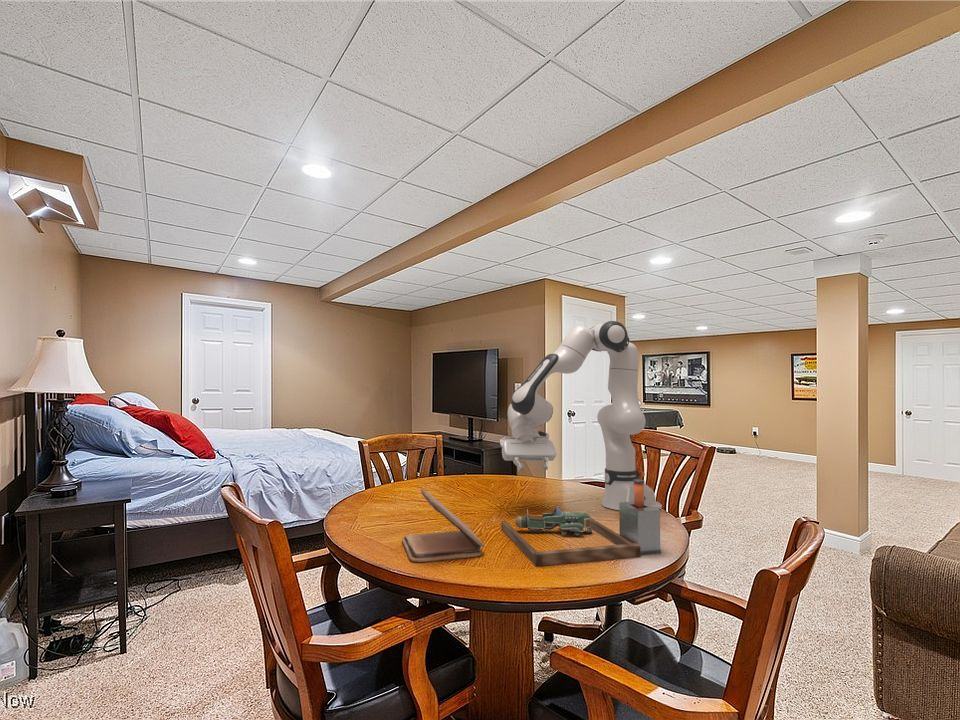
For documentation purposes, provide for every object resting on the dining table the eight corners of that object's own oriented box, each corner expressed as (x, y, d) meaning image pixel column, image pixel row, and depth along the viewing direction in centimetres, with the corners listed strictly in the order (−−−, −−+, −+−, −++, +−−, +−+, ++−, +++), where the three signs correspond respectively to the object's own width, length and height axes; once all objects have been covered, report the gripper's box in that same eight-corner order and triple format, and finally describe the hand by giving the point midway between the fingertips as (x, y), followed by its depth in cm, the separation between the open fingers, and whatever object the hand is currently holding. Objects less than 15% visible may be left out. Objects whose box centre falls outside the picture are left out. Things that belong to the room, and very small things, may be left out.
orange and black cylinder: (640, 504, 143) (640, 479, 143) (647, 507, 139) (646, 481, 140) (631, 505, 142) (630, 479, 142) (637, 508, 139) (637, 481, 139)
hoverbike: (595, 538, 149) (595, 511, 149) (514, 537, 149) (514, 510, 150) (588, 528, 158) (588, 503, 159) (512, 527, 159) (512, 502, 159)
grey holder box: (640, 541, 146) (640, 500, 146) (660, 552, 136) (660, 509, 137) (619, 542, 144) (618, 502, 145) (638, 554, 134) (637, 511, 135)
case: (486, 557, 132) (487, 498, 133) (410, 565, 126) (411, 503, 127) (467, 535, 152) (468, 483, 153) (400, 540, 146) (401, 487, 147)
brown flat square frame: (586, 522, 164) (586, 513, 165) (640, 556, 133) (640, 545, 133) (501, 528, 157) (501, 519, 157) (536, 566, 126) (536, 554, 126)
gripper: (500, 432, 176) (508, 463, 167) (552, 433, 182) (562, 463, 172) (496, 442, 181) (503, 474, 171) (547, 443, 186) (556, 474, 176)
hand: (533, 469), depth 171 cm, fingers open, 8 cm apart
